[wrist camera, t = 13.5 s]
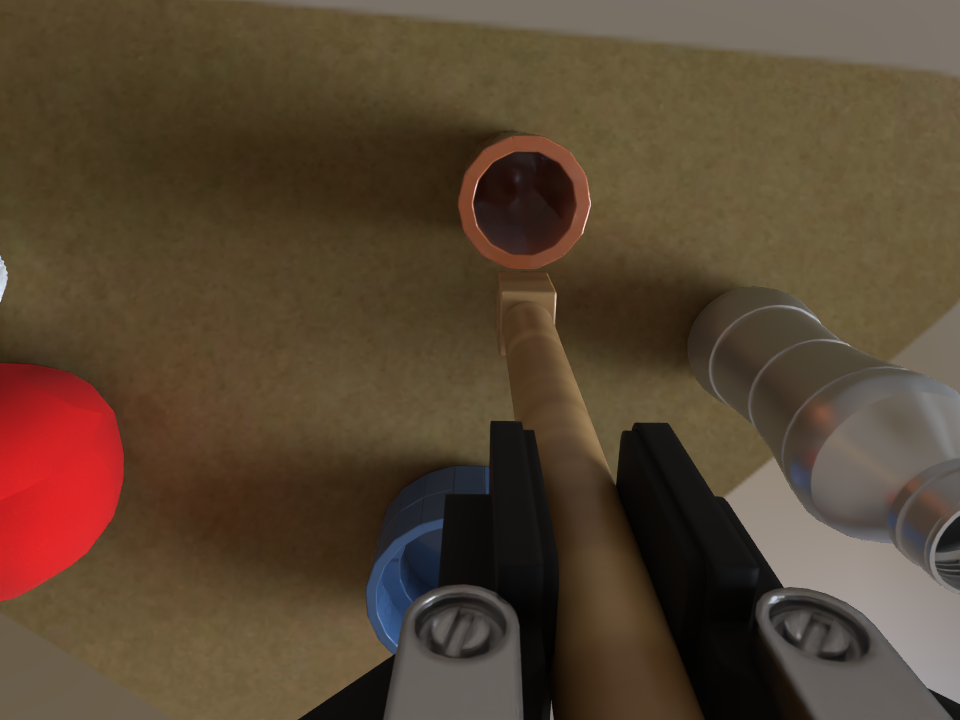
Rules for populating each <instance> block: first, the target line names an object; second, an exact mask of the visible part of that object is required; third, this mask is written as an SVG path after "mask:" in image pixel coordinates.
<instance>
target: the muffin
mask: <svg viewBox="0 0 960 720" xmlns="http://www.w3.org/2000/svg"><path fill="white" fill-rule="evenodd" d="M7 273H8V272H7V271H6V266H5V265H4V261H3V260H2V259H1V256H0V301H1V299H2V296H3V293H4V290H5V287H6V284H7V283H6V282H7V279H8V277H7V276H6V275H7Z"/></svg>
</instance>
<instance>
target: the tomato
mask: <svg viewBox="0 0 960 720" xmlns="http://www.w3.org/2000/svg"><path fill="white" fill-rule="evenodd" d="M123 479H124V451H123V447H122V442H121V438H120V434H119V429H118V425H117V420H116V416H115V412H114V411H113V410H112V409H111V407H110V406H109V405H108V404H107V403H106V401H105V400H104V399H103V398H102V397H101V395H100V394H99V393H98V392H97V391H96V389H95V388H94V387H93V386H92V385H91V384H90V383H88V382H86V381H85V380H83V379H81V378H79V377H78V376H76V375H74V374H73V373H71V372H69V371H64V370H59V369H54V368H49V367H44V366H39V365H34V364H15V363H0V601H4V600H9V599H13V598H15V597H17V596H19V595H22V594H24V593H26V592H28V591H30V590H32V589H33V588H35V587H36V586H38V585H40V584H41V583H43V582H45V581H46V580H48V579H50V578H51V577H53V576H55V575H56V574H58V573H60V572H61V571H63V570H65V569H66V568H68V567H70V566H71V565H72V564H73V563H75V562H76V561H77V560H78V559H80V558H81V557H82V556H83V555H85V554H86V553H87V552H88V551H89V549H90V548H91V547H92V546H93V544H94V543H95V542H96V540H97V539H98V537H99V536H100V535H101V533H102V532H103V531H104V529H105V528H106V527H107V525H108V524H109V522H110V521H111V520H112V518H113V517H114V514H115V511H116V508H117V504H118V501H119V496H120V492H121V488H122V483H123Z"/></svg>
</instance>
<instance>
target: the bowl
mask: <svg viewBox="0 0 960 720" xmlns="http://www.w3.org/2000/svg"><path fill="white" fill-rule="evenodd" d="M446 494H489V467H486V466H452V467H448V468H445V469H441V470H437V471H434V472H430V473H427V474H425V475H424V476H422V477H421V478H419V479H418V480H416V481H414V482H413V483H411V484H410V485H408V486H406V487H405V488H403V489H402V490H401V492H400V493H399V494H398V495H397V497H396V498H395V499H394V500H393V501H392V503H391V504H390V505H389V506H388V508H387V510H386V512H385V515H384V518H383V521H382V524H381V527H380V530H379V533H378V538H377V542H376V546H375V551H374V555H373V559H372V563H371V568H370V572H369V576H368V581H367V585H366V604H367V615H368V618H369V620H370V622H371V624H372V626H373V629H374V631H375V633H376V635H377V638H378V639H379V640H380V641H381V643H382V644H383V645H384V646H385V647H386V648H387V649H388V650H389V651H390V652H391V653H392V654H393V655H394V654H396V650H397V645H398V640H399V634H400V629H401V624H402V620H403V618H404V615H405V613H406V610H407V609H408V607H409V606H410V605H411V604H412V603H413V602H414V601H415V600H416V599H417V598H418V597H420V596H422V595H424V594H425V593H427V592H429V591H430V590H433V589H437V588H438V580H439V568H440V556H441V543H442V531H443V519H444V506H445V495H446Z"/></svg>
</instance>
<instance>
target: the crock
mask: <svg viewBox="0 0 960 720" xmlns="http://www.w3.org/2000/svg"><path fill="white" fill-rule="evenodd" d="M590 206H591V202H590V195H589V188H588V182H587V176H586V174H585V173H584V171H583V170H582V168H581V167H580V165H579V164H578V162H577V161H576V159H575V158H574V156H573V155H572V154H571V152H570V151H569V150H568V149H566V148H564V147H562V146H560V145H558V144H557V143H555V142H553V141H551V140H549V139H547V138H546V137H543V136H539V135H535V134H530V133H525V132H503V133H500V134H498V135H495V136H493V137H491V138H489V139H487V140H485V141H483V142H482V143H481V144H480V145H479V146H478V147H477V148H476V150H475V151H474V152H473V153H472V155H471V156H470V157H469V159H468V160H467V162H466V166H465V170H464V174H463V179H462V183H461V188H460V193H459V198H458V209H459V213H460V218H461V223H462V227H463V231H464V233H465V235H466V236H467V238H468V239H469V240H470V241H471V243H472V244H473V245H474V247H475V248H476V249H477V251H478V252H479V253H480V254H481V255H482V256H483V257H485V258H487V259H489V260H491V261H493V262H495V263H497V264H499V265H501V266H503V267H505V268H508V269H537V268H540V267H542V266H544V265H546V264H549V263H551V262H553V261H555V260H558V259H560V258H562V256H564V255H565V254H566V253H567V252H568V250H569V249H570V248H571V247H572V246H573V245H574V244H575V242H576V241H577V240H578V239H579V238H580V237H581V234H583V231H584V228H585V224H586V221H587V218H588V214H589V211H590V208H591V207H590Z"/></svg>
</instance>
